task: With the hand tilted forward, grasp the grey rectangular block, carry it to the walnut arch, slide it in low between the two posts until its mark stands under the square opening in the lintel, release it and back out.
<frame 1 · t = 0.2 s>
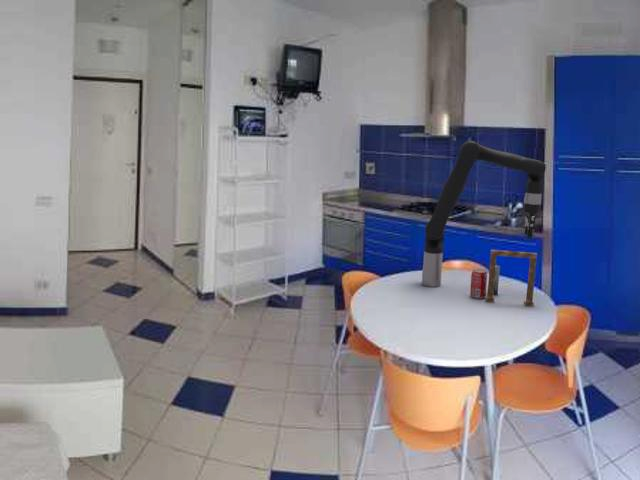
hand: (528, 236, 253), 28 cm above the table, tool pointing down, fingers open, 8 cm apart
arch: (509, 302, 243), on the table
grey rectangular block: (492, 293, 256), on the table
soda can: (477, 297, 251), on the table
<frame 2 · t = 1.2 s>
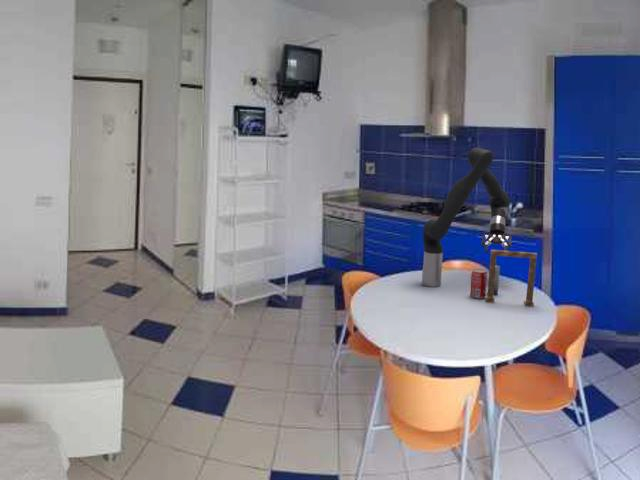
hand: (495, 252, 264), 18 cm above the table, tool tilted 45°, fingers open, 8 cm apart
nothing on the table moved.
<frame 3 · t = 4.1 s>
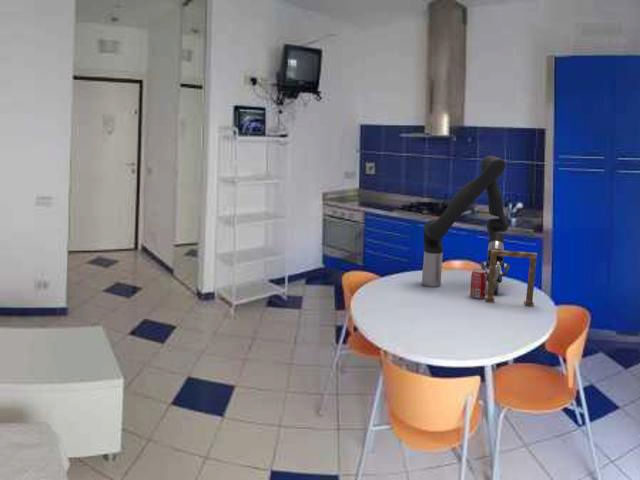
hand: (494, 281, 253), 7 cm above the table, tool tilted 45°, fingers closed on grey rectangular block, 4 cm apart
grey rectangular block: (492, 293, 256), on the table, touching gripper
everything else where it was.
when the fingers open (8 cm above the table, at t = 10.3 s): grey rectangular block drops 1 cm, on the table.
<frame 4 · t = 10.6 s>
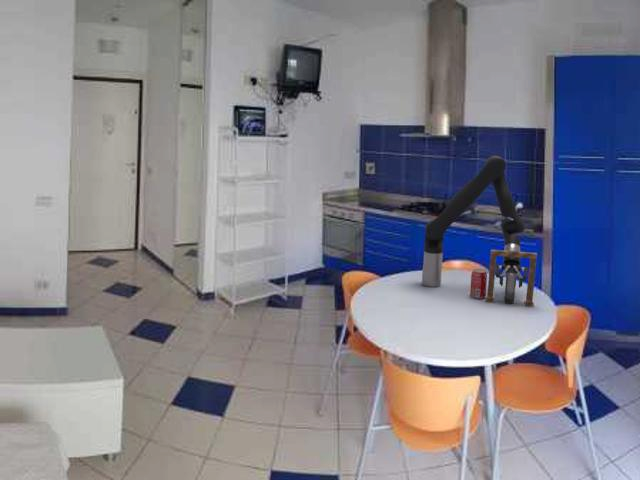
hand: (510, 285, 240), 8 cm above the table, tool tilted 45°, fingers open, 7 cm apart
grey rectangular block: (508, 302, 243), on the table
everything else where it was.
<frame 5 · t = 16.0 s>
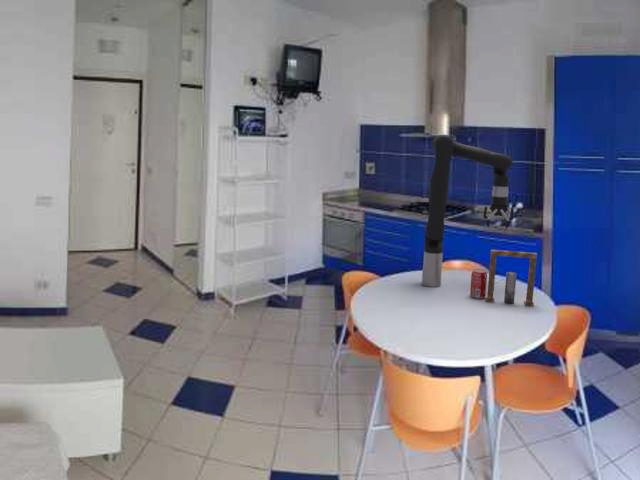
hand: (497, 227, 265), 30 cm above the table, tool pointing down, fingers open, 8 cm apart
nothing on the table moved.
at the end: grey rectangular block inside the target area on the arch (0.1 cm from its centre), point 0.0 cm above the arch's base; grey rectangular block tilted 0°; the gripper is holding nothing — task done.
